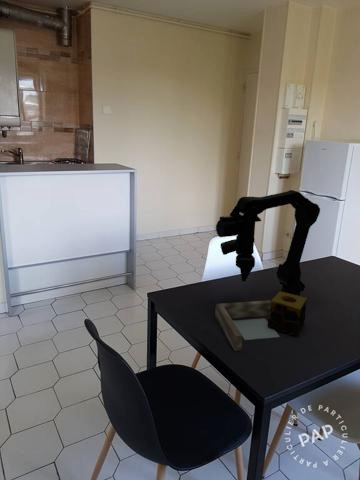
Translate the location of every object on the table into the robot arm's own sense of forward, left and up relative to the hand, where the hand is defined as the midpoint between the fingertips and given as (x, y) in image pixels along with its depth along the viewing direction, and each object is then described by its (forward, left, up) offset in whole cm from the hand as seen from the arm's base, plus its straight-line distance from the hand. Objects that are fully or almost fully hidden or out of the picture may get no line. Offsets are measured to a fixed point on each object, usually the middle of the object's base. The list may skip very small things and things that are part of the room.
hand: (243, 276), depth 132 cm
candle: (-11, +13, -14) cm, 22 cm away
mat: (0, +13, -14) cm, 19 cm away
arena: (+1, +14, -14) cm, 19 cm away
